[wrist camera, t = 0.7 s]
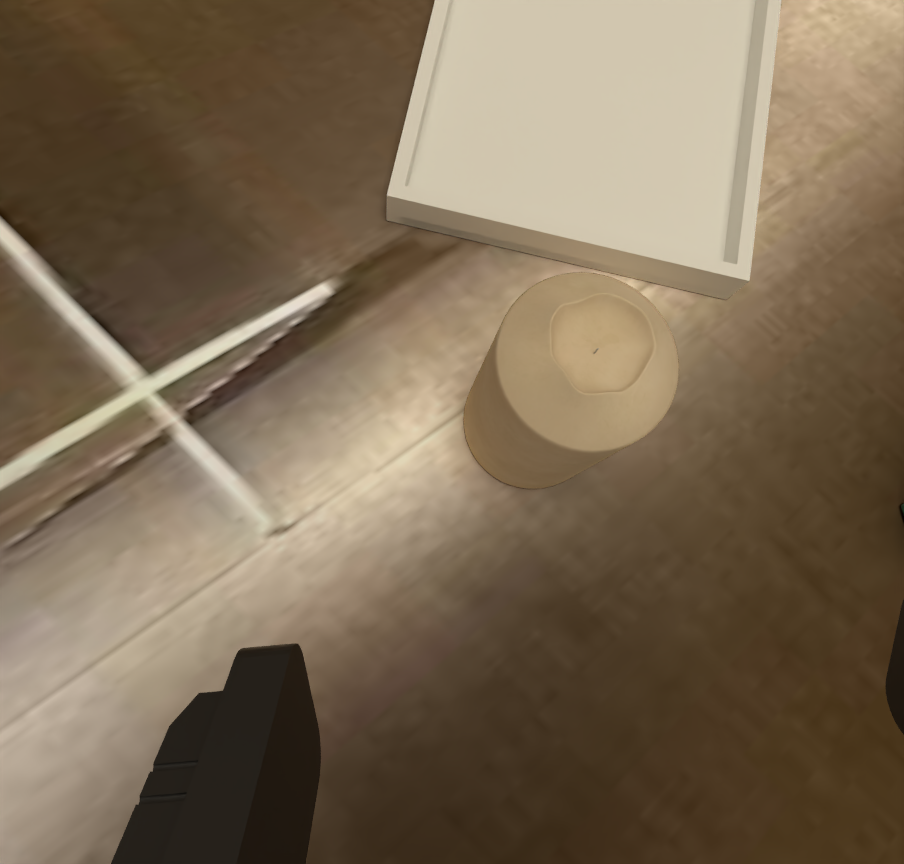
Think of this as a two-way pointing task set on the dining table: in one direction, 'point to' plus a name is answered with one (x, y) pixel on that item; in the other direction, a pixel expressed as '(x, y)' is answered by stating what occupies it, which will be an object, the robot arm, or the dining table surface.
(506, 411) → the candle
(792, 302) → the dining table surface
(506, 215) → the tray
